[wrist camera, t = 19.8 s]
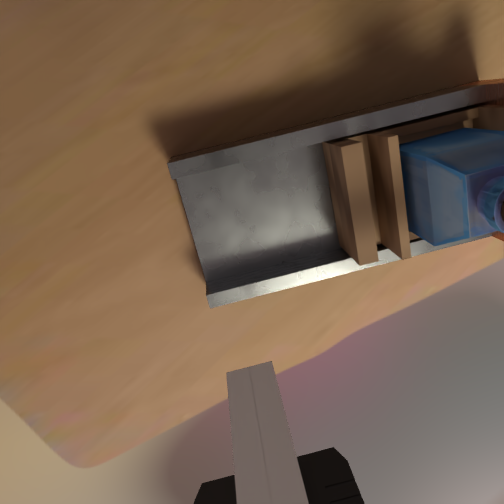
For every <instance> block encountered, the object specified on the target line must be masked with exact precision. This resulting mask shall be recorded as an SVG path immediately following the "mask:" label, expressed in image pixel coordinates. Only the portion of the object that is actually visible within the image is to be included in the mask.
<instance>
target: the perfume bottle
mask: <svg viewBox="0 0 504 504" xmlns="http://www.w3.org/2000/svg"><path fill="white" fill-rule="evenodd" d="M399 151H400V160H401V168H402V177H403V186H404V195H405V204H406V213H407V222H408V230H409V231H411V232H412V233H414V234H415V235H417V236H419V237H420V238H422V239H423V240H425V241H427V242H428V243H430V244H432V245H433V246H439V245H443V244H447V243H451V242H455V241H459V240H463V239H468V238H472V237H475V236H479V235H483V234H487V233H491V232H494V231H500V232H502V233H504V131H498V130H486V129H475V128H461V129H457V130H453V131H449V132H445V133H441V134H437V135H434V136H430V137H426V138H422V139H418V140H414V141H410V142H407V143H403V144H399Z"/></svg>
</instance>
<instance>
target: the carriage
mask: <svg viewBox="0 0 504 504" xmlns="http://www.w3.org/2000/svg"><path fill="white" fill-rule="evenodd" d="M461 128H475V129H486V130H498V131H504V105H469V106H465V107H461V108H457V109H453V110H449V111H445V112H441V113H437V114H433V115H429V116H425V117H421V118H417V119H413V120H409V121H405V122H401V123H397V124H393V125H389V126H385V127H381V128H377V129H373V130H369V131H365V132H361V133H357V134H353V135H349V136H345V137H341V138H337V139H333V140H329V141H325V142H322V146H323V151H324V157H325V163H326V169H327V175H328V181H329V186H330V192H331V198H332V204H333V210H334V216H335V221H336V227H337V233H338V239H339V245H340V246H341V247H342V248H343V249H344V250H345V251H346V252H347V253H348V254H349V255H350V257H351V258H352V259H353V260H354V261H355V262H356V263H357V264H358V265H359V266H362V265H366V264H370V263H374V262H378V261H379V259H378V252H377V245H378V244H383V245H384V246H385V247H387V248H388V249H389V250H391V251H392V252H393V253H394V254H396V255H397V256H398V257H399V258H401V259H402V260H404V259H408V258H412V257H411V248H410V240H413V239H417V238H420V237H419V236H417V235H415V234H414V233H412V232H411V231H409V230H408V222H407V213H406V204H405V195H404V186H403V177H402V168H401V160H400V151H399V144H403V143H407V142H410V141H414V140H418V139H422V138H426V137H430V136H434V135H437V134H441V133H445V132H449V131H453V130H457V129H461Z"/></svg>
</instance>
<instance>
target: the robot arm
mask: <svg viewBox="0 0 504 504" xmlns="http://www.w3.org/2000/svg"><path fill="white" fill-rule="evenodd" d="M227 386H228V398H229V411H230V421H231V422H230V423H231V436H232V448H233V460H234V473H235V475H232V476H228V477H224V478H221V479H217V480H213V481H209V482H205V483H202V485H201V487H200V489H199V492H198V494H197V496H196V499H195V501H194V504H364V501H363V499H362V497H361V494H360V491H359V489H358V486H357V484H356V482H355V479H354V476H353V474H352V471H351V469H350V466H349V464H348V461H347V460H346V459H345V458H344V457H343V456H342V455H341V454H340V453H339V452H338V451H337V450H336V449H335V448H334V447H333V448H329V449H325V450H321V451H318V452H314V453H310V454H306V455H302V456H299V457H296V453H295V449H294V445H293V441H292V437H291V434H290V430H289V426H288V422H287V419H286V414H285V411H284V407H283V403H282V399H281V395H280V391H279V387H278V383H277V380H276V376H275V372H274V368H273V364H272V361H270V362H266V363H262V364H258V365H254V366H250V367H247V368H243V369H239V370H235V371H231V372H227Z"/></svg>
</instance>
